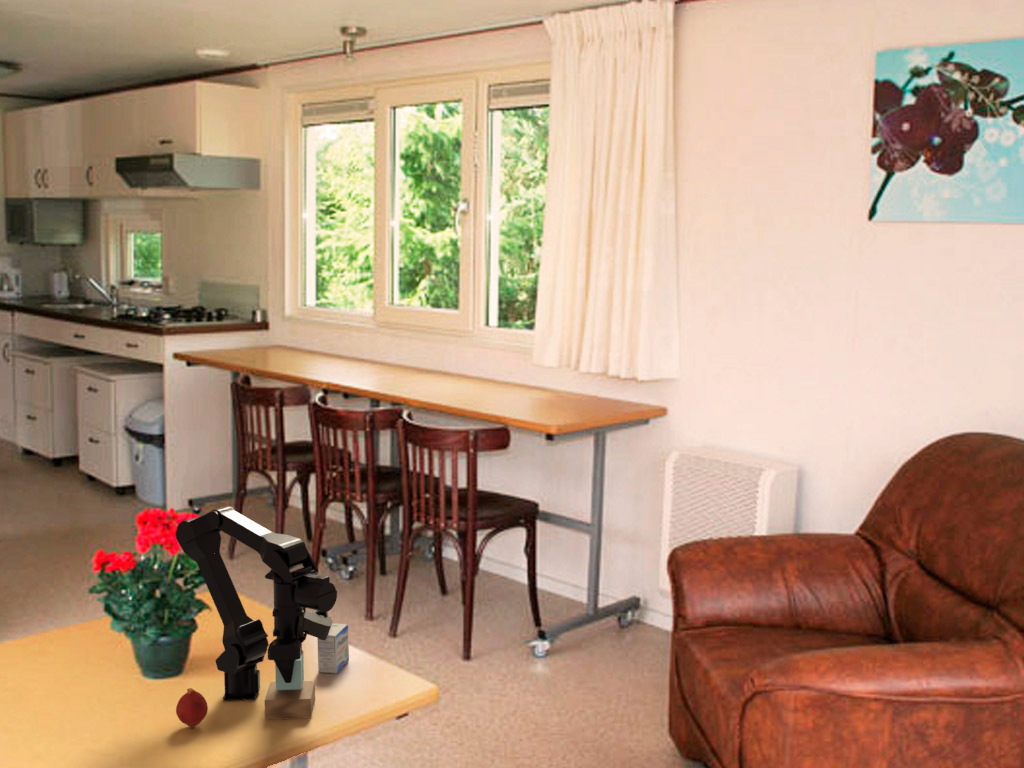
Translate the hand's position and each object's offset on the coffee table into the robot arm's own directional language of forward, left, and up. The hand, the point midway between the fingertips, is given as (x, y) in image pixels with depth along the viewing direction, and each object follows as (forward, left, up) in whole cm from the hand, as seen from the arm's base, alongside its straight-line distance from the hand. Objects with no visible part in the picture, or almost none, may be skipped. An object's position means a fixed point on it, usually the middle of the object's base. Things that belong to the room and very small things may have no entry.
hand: (289, 677), depth 225 cm
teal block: (0, 0, -2) cm, 2 cm away
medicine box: (+7, +22, -7) cm, 24 cm away
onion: (-18, -7, -7) cm, 20 cm away
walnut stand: (0, 0, -7) cm, 7 cm away
